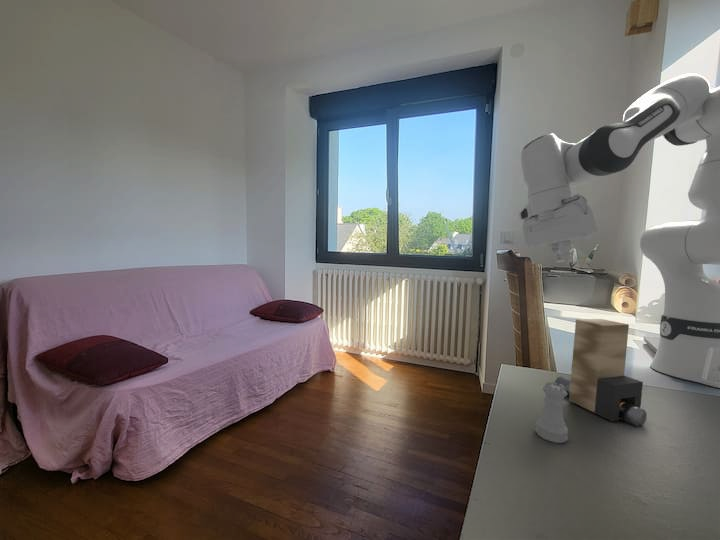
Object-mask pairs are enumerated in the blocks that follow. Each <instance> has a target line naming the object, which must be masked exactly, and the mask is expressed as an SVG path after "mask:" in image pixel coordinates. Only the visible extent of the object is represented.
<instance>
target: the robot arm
mask: <svg viewBox="0 0 720 540" xmlns="http://www.w3.org/2000/svg"><path fill="white" fill-rule="evenodd" d="M662 136H663V138H664V139H665V140H666V141H667V142H668V143H669V144H671V145H673V146H676V147H677V146H678V147H679V146H688V145H693V144H695V143H697V142H699V141H700V142H701V141H703V140H705V142H706V149H705V151H704V152H703V155H702V157H701V159H700V160H699V162H698V163H699V164H698V165H697V169H696V170H695V173H694V175H693V179H692V182H691V184H690V187H689V189H688V190H689V191H688V193H687V195H688V200H689V202H690V203H691V205H693V206H694V207H696V208H698V209H700V210H703V211H705V216H704V217H703V218H702V219H699V220H698V219H697V220H696V219H695V220H682V221H680V220H679V221H670V222H663V223H660V224H657V225H652V226H650V227H648V228H647V229H646V230H645V231H644V232H643V234H642V235H641V238H640V241H639V248H640V251H641V252H642V254H643V256H645V257H646V259H648V260H650V261H651V262H652V263H653V264H654V265H655V266H656V268H657V269H658V270H659V272H660V275H661V278H662V280H663V285H664V308H663V309H664V310H663V314H662V315H661V318H660V322H659V323H660V324H659V335H660V337H659V342H658V346H657V349H656V353H655V355H654V357H653V360H652V362H651V363H650V366H649V367H650V368H651V369H653V370H655V371H657V372H659V373H663V374H665V375H668V376H670V377H675V378H678V379H682V380H686V381H691V382H695V383H699V384H702V385H706V386H710V387H714V388H719V389H720V283H719V282H717V281H714V280H713V279H711V278H709V277H708V276H707V275H706V273H705V271H704V267H703V265H715V266H717V265H719V266H720V86H718V87H716V88H712V89H711V87H710V83H709V81H708V80H707V79H706V78H705V77H704V76H702V75H700V74H698V73H686V74H682V75H679V76H676V77H674V78H671V79H669V80H667V81H665V82H663V83H661V84H659V85H657V86H656V87H654V88H652V89H650V90H649V91H647V92H646V93H644V94H643V95H642V96H640V97H639V98H638V99H636V101H634V102H632V104H631V105H630V106H629V107H628V108H627V109H626V110H625V111H624V114H623V118H622V122H617V123H609V124H607V125H604V126H601V127H599V128H598V129H596V130H595V131H594V132H592V133H590V134H589V135H588V136H587V137H584V138H583V139H581V140H580V141H578V142H577V143H570V142H567V141H564V140H562V139H560V138H558V137H557V136H556V133H555V134H554V133H547V134H544V135H542V136H538V137H537V138H535V139H533V140H531V141H530V142H529V143H527V144H526V145H525V146H524V147H523V149H522V150H521V154H520V155H521V156H520V158H521V159H520V161H521V169H522V176H523V179H524V182H525V184H526V187H527V199H528V202H527V203H526V205H525V206H524V208H522V209H521V211H519V215H518V216H519V220H520V221H523V222H522V233H523V237H524V240H525V243H526V245H527V247H528V248H529V249H532V248H537V247H538V248H539V247H542V246H546V245H547V247H548V250H549V251H550V253H551V254H552V255H553V257H554V261H555V263H562V262H569V261H570V260H571V256H570V252H571V247H572V241H571V240H577V239H581V238H582V239H583V238H587V237H592V236H595V235H596V234H597V231H598V227H597V222H596V219H595V217H594V213H593V211H592V209H591V206H590V205H589V204H588V200H587V198H586V197H584V196H583V195H581V194H575V195H573V196H572V190H571V189H574V188H579V187H581V186H585V185H586V184H589V183H591V182H595V181H597V180H600V179H601V178H602V179H603V178H604V177H606V176H610V175H612V174H616V173H619V172H622V171H624V170H626V169H627V168H628V167H629V166H630V165H631V164H632V163H633V162H634V160H635V159H636V157H637V155H638V154H639V153H640V151H641V149H642V148H643V147H644V145H646V143H648V142H650V141H652V140H656V139H657V138H660V137H662Z"/></svg>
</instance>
